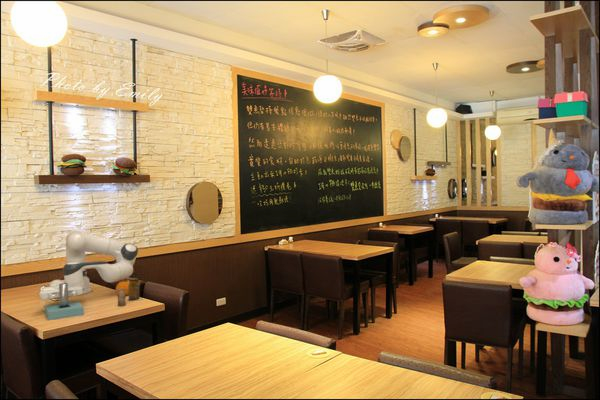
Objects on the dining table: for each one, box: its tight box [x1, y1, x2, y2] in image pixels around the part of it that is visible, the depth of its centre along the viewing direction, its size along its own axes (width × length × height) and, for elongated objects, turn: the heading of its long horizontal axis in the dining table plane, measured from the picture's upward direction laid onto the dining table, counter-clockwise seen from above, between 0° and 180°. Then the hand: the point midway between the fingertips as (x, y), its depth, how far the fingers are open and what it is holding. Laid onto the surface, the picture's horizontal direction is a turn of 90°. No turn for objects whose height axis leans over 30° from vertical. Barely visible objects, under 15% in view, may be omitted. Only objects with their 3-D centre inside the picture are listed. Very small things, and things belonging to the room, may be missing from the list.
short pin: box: [117, 289, 126, 307], centre depth 249 cm, size 4×4×9 cm
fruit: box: [115, 278, 129, 297], centre depth 275 cm, size 12×12×10 cm
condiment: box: [125, 277, 143, 302], centre depth 263 cm, size 7×8×12 cm
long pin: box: [58, 283, 69, 308], centre depth 231 cm, size 4×4×16 cm
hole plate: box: [44, 300, 85, 321], centre depth 232 cm, size 16×16×4 cm
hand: (63, 295), depth 231 cm, fingers open, 8 cm apart
